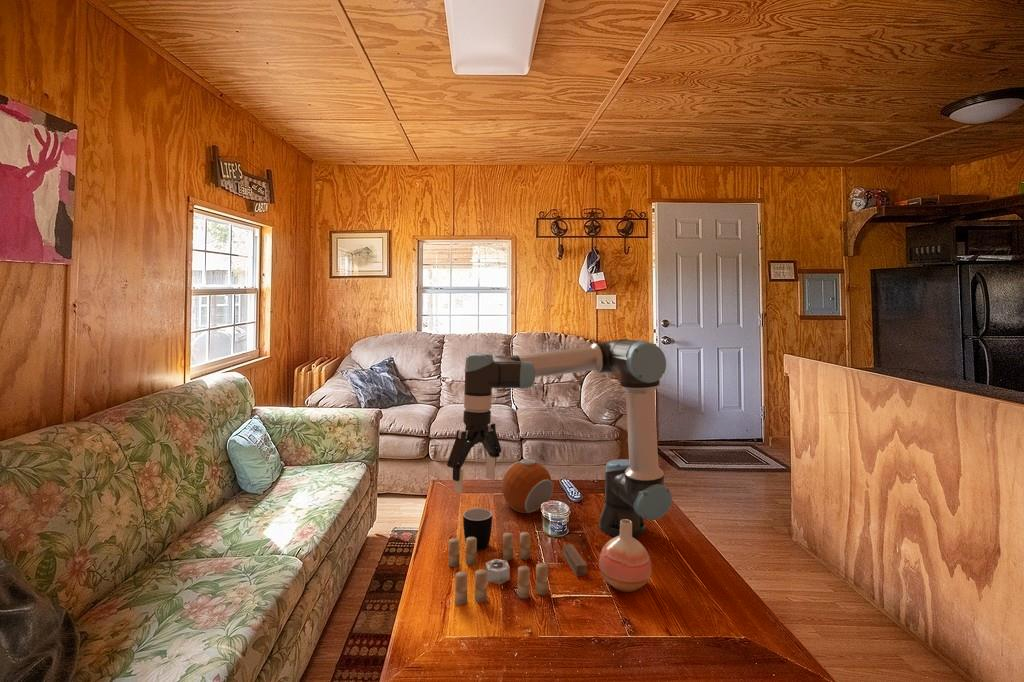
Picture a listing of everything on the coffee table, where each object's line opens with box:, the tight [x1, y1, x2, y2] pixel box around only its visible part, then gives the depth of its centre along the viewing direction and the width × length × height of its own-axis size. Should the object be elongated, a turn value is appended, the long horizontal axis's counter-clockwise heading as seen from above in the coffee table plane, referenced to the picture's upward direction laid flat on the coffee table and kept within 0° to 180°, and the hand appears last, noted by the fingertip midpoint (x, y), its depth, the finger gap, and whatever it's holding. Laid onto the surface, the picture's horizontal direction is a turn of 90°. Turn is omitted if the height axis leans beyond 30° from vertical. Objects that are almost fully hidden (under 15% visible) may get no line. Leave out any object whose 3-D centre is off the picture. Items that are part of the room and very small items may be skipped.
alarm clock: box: [501, 458, 555, 514], centre depth 179 cm, size 19×18×17 cm
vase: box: [598, 519, 652, 593], centre depth 128 cm, size 14×14×18 cm
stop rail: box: [561, 543, 588, 577], centre depth 138 cm, size 3×12×3 cm, turn 13°
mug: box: [462, 507, 493, 552], centre depth 150 cm, size 12×9×10 cm
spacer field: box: [448, 531, 549, 606], centre depth 131 cm, size 24×22×7 cm
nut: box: [485, 558, 511, 585], centre depth 131 cm, size 6×7×4 cm
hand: (474, 485), depth 133 cm, fingers open, 13 cm apart
